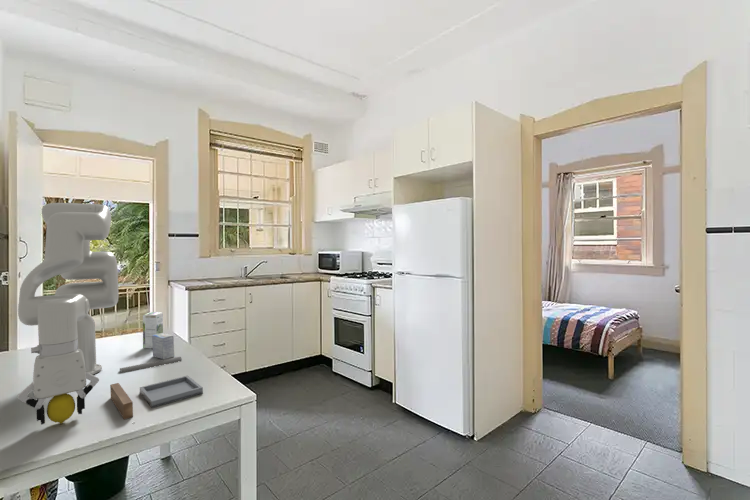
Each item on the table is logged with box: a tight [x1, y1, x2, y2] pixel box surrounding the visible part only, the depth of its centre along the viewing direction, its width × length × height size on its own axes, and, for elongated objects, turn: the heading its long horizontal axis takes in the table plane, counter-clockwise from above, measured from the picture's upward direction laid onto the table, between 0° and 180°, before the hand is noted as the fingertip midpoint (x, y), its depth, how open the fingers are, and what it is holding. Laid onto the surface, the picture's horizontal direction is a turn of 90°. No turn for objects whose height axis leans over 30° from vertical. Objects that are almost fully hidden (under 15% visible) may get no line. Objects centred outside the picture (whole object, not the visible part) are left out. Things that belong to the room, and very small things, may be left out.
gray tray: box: [139, 375, 204, 409], centre depth 113 cm, size 14×14×2 cm
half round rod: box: [119, 356, 182, 374], centre depth 137 cm, size 4×20×2 cm, turn 131°
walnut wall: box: [110, 382, 134, 420], centre depth 104 cm, size 2×18×4 cm, turn 44°
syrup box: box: [142, 311, 164, 349], centre depth 161 cm, size 6×6×14 cm
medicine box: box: [152, 332, 175, 360], centre depth 147 cm, size 8×4×9 cm, turn 58°
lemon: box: [46, 393, 76, 424], centre depth 95 cm, size 6×6×8 cm
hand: (61, 416), depth 95 cm, fingers open, 6 cm apart
